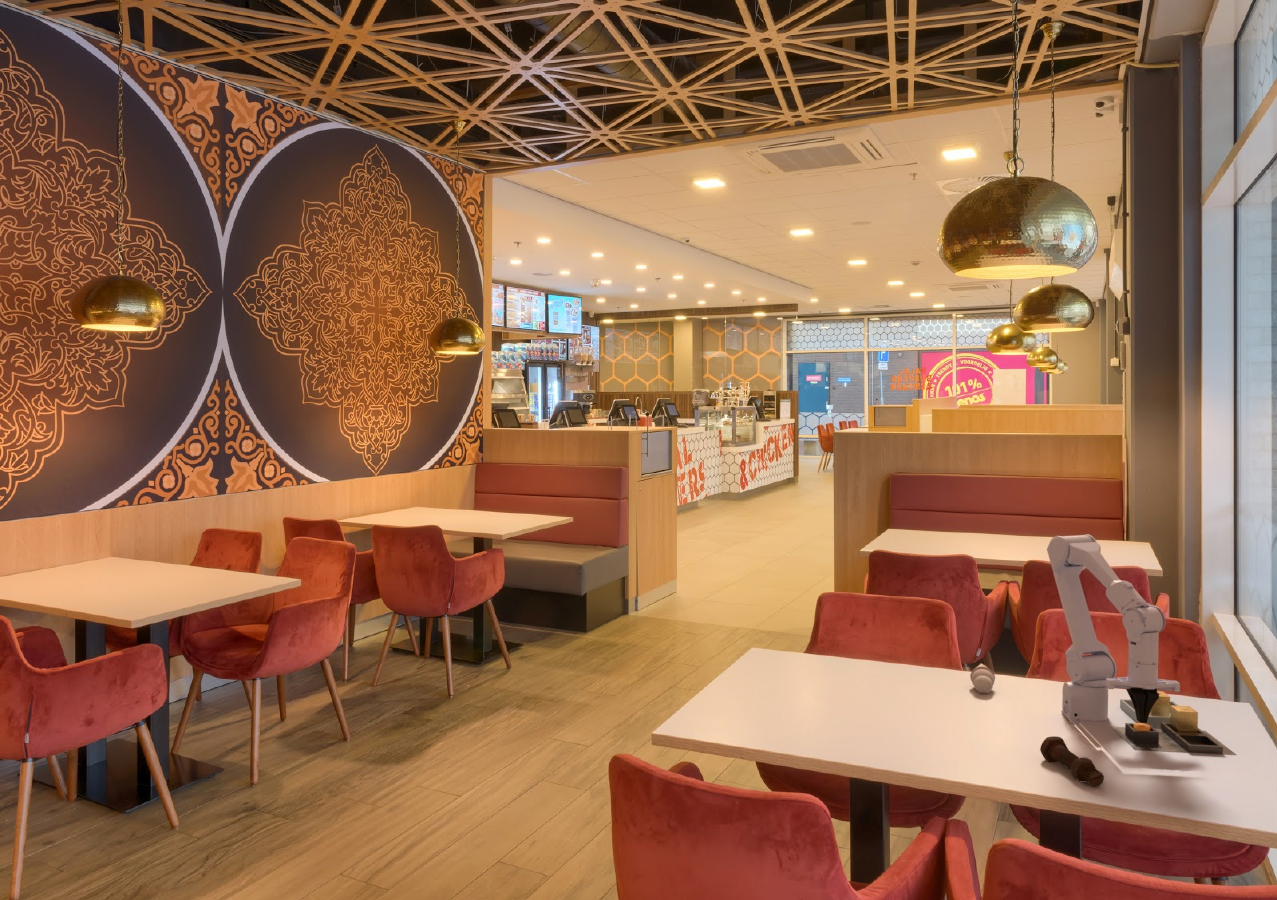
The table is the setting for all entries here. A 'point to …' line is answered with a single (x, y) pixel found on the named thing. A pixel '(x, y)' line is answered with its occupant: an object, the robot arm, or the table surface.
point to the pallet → (1171, 740)
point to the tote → (1152, 720)
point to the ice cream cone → (982, 679)
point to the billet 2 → (1183, 719)
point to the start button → (1141, 727)
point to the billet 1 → (1161, 706)
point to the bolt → (1071, 761)
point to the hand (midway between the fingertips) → (1141, 721)
